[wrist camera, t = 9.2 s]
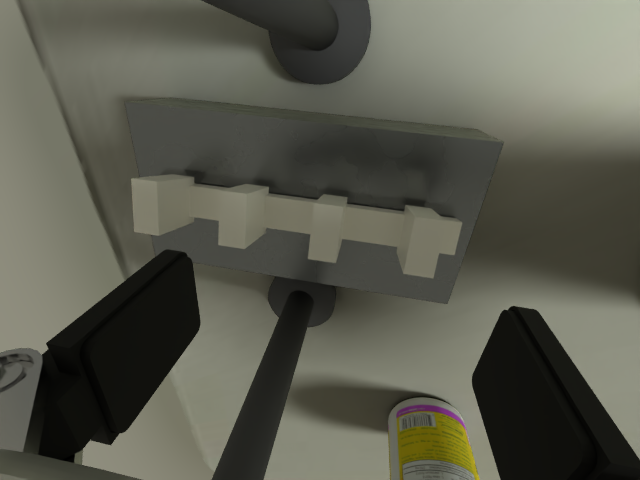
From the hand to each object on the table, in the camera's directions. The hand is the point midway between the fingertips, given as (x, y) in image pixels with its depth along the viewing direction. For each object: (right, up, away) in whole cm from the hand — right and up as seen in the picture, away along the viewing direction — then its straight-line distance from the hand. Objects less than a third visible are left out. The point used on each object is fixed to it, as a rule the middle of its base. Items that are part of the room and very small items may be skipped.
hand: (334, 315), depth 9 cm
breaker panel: (-1, +6, +11) cm, 12 cm away
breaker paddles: (-2, +4, +7) cm, 8 cm away
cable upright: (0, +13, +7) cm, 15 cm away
